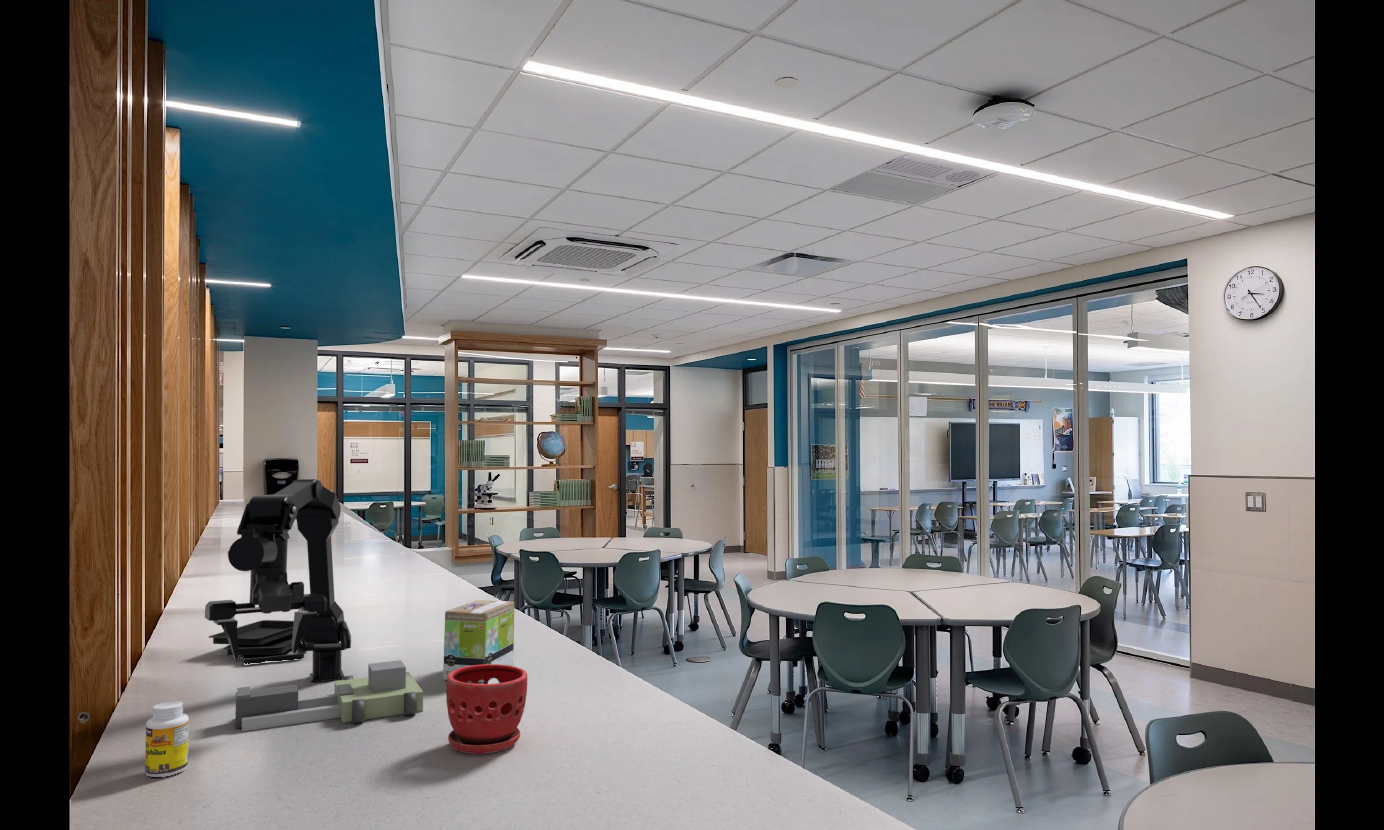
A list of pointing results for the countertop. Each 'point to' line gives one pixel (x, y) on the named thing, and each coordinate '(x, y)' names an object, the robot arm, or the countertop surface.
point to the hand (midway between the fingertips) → (265, 656)
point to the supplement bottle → (166, 740)
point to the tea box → (478, 635)
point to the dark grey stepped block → (265, 701)
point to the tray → (262, 641)
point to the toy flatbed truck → (353, 699)
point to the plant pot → (485, 707)
